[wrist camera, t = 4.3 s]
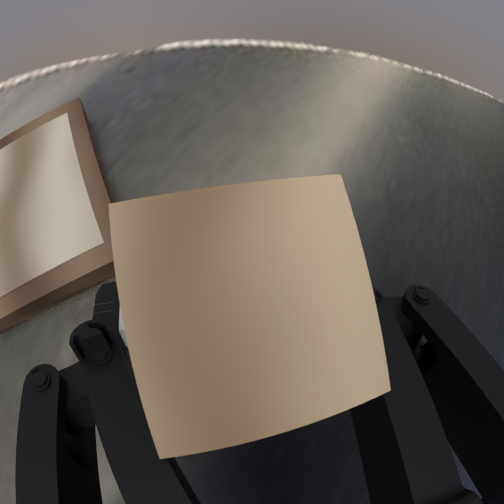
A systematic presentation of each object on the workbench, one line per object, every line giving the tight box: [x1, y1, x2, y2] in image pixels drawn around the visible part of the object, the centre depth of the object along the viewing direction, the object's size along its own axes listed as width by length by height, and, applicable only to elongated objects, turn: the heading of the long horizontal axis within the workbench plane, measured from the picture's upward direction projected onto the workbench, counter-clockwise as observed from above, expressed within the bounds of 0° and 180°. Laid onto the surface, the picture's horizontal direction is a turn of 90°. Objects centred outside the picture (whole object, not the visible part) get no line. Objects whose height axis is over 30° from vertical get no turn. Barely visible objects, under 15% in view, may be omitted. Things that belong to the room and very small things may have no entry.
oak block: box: [108, 174, 391, 459], centre depth 11 cm, size 5×5×12 cm
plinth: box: [0, 97, 115, 333], centre depth 14 cm, size 11×11×3 cm
